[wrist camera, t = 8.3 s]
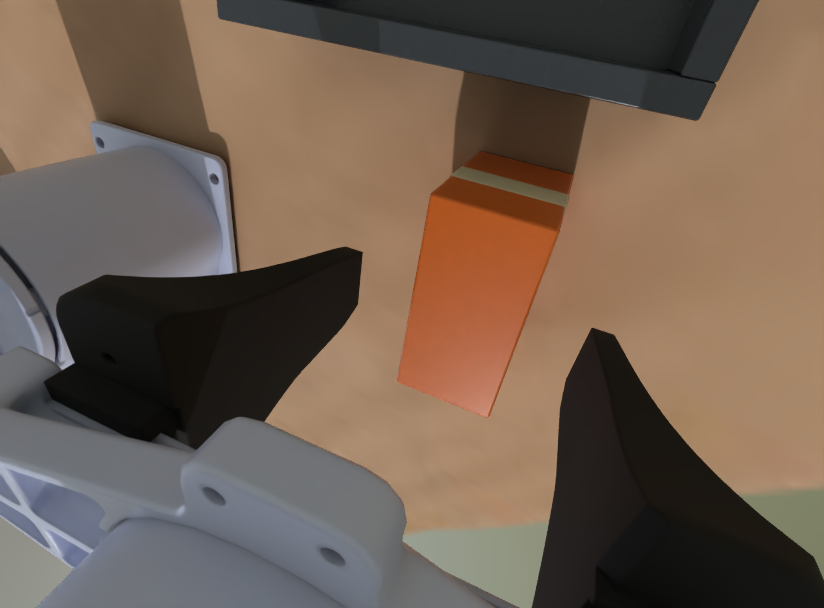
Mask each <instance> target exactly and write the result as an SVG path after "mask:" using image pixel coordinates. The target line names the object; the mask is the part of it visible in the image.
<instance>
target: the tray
mask: <svg viewBox="0 0 824 608" xmlns="http://www.w3.org/2000/svg"><path fill="white" fill-rule="evenodd" d="M758 1H759V0H217V8H218V17H219V18H220V19H222V20H227V21H231V22H236V23H241V24H245V25H250V26H255V27H259V28H264V29H269V30H273V31H278V32H283V33H288V34H292V35H297V36H302V37H306V38H311V39H316V40H320V41H325V42H330V43H334V44H339V45H344V46H348V47H353V48H358V49H362V50H367V51H372V52H376V53H381V54H386V55H390V56H395V57H400V58H405V59H409V60H414V61H419V62H423V63H428V64H433V65H437V66H442V67H447V68H451V69H456V70H461V71H465V72H470V73H475V74H479V75H484V76H489V77H493V78H498V79H503V80H507V81H512V82H517V83H521V84H526V85H531V86H536V87H540V88H545V89H550V90H554V91H559V92H564V93H568V94H573V95H578V96H582V97H587V98H592V99H596V100H601V101H606V102H610V103H615V104H620V105H624V106H629V107H634V108H638V109H643V110H648V111H652V112H657V113H662V114H667V115H671V116H676V117H681V118H685V119H690V120H695V121H697V120H699V119H700V117H701V115H702V113H703V111H704V109H705V107H706V105H707V103H708V101H709V99H710V97H711V95H712V93H713V91H714V89H715V87H716V84H715V83H714V82H717V81H718V80H719V79H720V77H721V75H722V73H723V71H724V69H725V67H726V65H727V63H728V61H729V59H730V57H731V55H732V53H733V51H734V49H735V47H736V45H737V43H738V41H739V39H740V37H741V35H742V33H743V31H744V29H745V27H746V25H747V23H748V21H749V19H750V17H751V15H752V13H753V11H754V9H755V7H756V5H757V3H758Z"/></svg>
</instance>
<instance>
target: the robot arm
mask: <svg viewBox="0 0 824 608" xmlns="http://www.w3.org/2000/svg"><path fill="white" fill-rule="evenodd" d="M90 129H91V133H92V137H93V141H94V144H95V148H96V152H97V154H94V155H90V156H85V157H81V158H76V159H72V160H67V161H63V162H58V163H54V164H49V165H45V166H40V167H36V168H31V169H27V170H22V171H18V172H13V173H9V174H4V175H0V517H1V518H3V519H4V520H6V521H7V522H9V523H10V524H11V525H13V526H14V527H16V528H17V529H18V530H20V531H21V532H23V533H25V534H26V535H27V536H28V537H30V538H31V539H33V540H34V541H35V542H37V543H38V544H39V545H41V546H42V547H43V548H45V549H46V550H48V551H49V552H50V553H52V554H53V555H55V556H56V557H57V558H59V559H60V560H62V561H63V562H64V563H66V564H67V565H69V566H70V567H71V568H72V569H74V570H73V571H72V572H71V573H70V574H69V575H68V576H67V577H66V578H65V579H64V580H63V581H62V582H61V583H60V584H59V585H58V586H57V587H56V588H55V589H54V590H53V591H52V592H51V593H50V594H49V595H48V596H47V597H46V598H45V599H44V600H43V601H42V602H41V603H40V604H39V605H38V606H37V607H36V608H519V607H517V606H514V605H513V604H510V603H508V602H506V601H504V600H502V599H500V598H498V597H496V596H494V595H492V594H490V593H488V592H486V591H484V590H482V589H480V588H478V587H476V586H474V585H471V584H470V583H467V582H465V581H463V580H461V579H459V578H457V577H455V576H453V575H451V574H449V573H447V572H445V571H443V570H442V569H440V568H439V567H438V566H436V565H435V564H434V563H432V562H431V561H429V560H428V559H427V558H425V557H424V556H422V555H421V554H419V553H418V552H417V551H415V550H414V549H413V548H411V547H410V546H408V545H407V544H406V543H404V542H403V541H402V539H403V534H404V530H405V526H406V523H407V521H406V515H405V509H404V504H403V502H402V500H401V498H400V497H399V496H398V495H397V494H396V492H395V491H394V490H393V489H392V487H391V486H390V485H389V484H388V482H387V481H385V480H384V479H382V478H381V477H379V476H377V475H376V474H374V473H373V472H371V471H370V470H368V469H367V468H365V467H363V466H361V465H358V464H356V463H354V462H352V461H349V460H347V459H345V458H343V457H341V456H338V455H336V454H334V453H332V452H330V451H327V450H325V449H323V448H321V447H318V446H316V445H314V444H312V443H310V442H307V441H305V440H303V439H301V438H299V437H296V436H294V435H292V434H290V433H287V432H285V431H283V430H281V429H279V428H276V427H274V426H272V425H270V424H267V423H265V422H264V421H265V420H266V418H267V417H268V416H269V414H270V413H271V411H272V410H273V408H274V407H275V405H276V404H277V403H278V401H279V400H280V399H281V397H282V396H283V394H284V393H285V392H286V390H287V389H288V388H289V386H290V385H291V384H292V382H293V381H294V380H295V379H296V377H297V376H298V375H299V374H300V373H301V371H302V370H303V369H304V368H305V367H306V366H307V365H308V364H309V363H310V362H311V361H312V360H313V359H314V357H315V356H316V355H317V354H318V353H319V352H320V351H321V350H322V349H323V348H324V347H325V346H326V345H327V344H328V342H329V341H330V340H331V339H332V338H333V337H334V336H335V335H336V334H337V333H338V332H339V330H340V329H341V328H342V327H343V326H344V324H345V323H346V321H347V320H348V319H349V317H350V316H351V314H352V313H353V311H354V310H355V308H356V306H357V305H358V297H359V286H360V276H361V265H362V254H363V252H360V251H357V250H354V249H351V248H348V247H341V248H336V249H333V250H329V251H325V252H322V253H318V254H315V255H311V256H308V257H304V258H301V259H297V260H294V261H290V262H286V263H282V264H277V265H273V266H269V267H265V268H260V269H255V270H250V271H243V272H237V263H236V253H235V243H234V233H233V223H232V213H231V203H230V193H229V183H228V173H227V167H226V164H225V162H224V160H223V159H222V158H221V157H219V156H217V155H214V154H210V153H207V152H204V151H200V150H197V149H194V148H190V147H187V146H184V145H180V144H177V143H174V142H171V141H167V140H164V139H161V138H157V137H154V136H151V135H147V134H144V133H141V132H137V131H134V130H131V129H127V128H124V127H121V126H118V125H114V124H111V123H108V122H104V121H93V122H92V123H91V126H90ZM216 176H217V177H218V180H219V181H218V180H217V178H216ZM532 608H824V580H823V577H822V575H821V572H820V570H819V568H818V565H817V563H816V561H815V559H814V557H813V556H811V555H810V554H809V553H808V552H806V551H805V550H804V549H803V548H802V547H800V546H799V545H798V544H796V543H795V542H794V541H793V540H791V539H790V538H788V536H786V535H785V534H784V533H783V532H781V531H780V530H779V529H777V528H776V527H775V526H774V525H772V524H771V523H770V522H769V521H767V520H766V519H765V518H764V517H762V516H761V515H760V514H759V513H758V512H757V511H755V510H754V509H753V508H752V507H751V506H750V505H749V504H748V503H746V502H745V501H744V500H743V499H742V498H741V497H740V496H739V495H737V494H736V493H735V492H734V491H733V490H732V489H731V488H730V487H729V486H728V485H727V484H726V483H724V482H723V481H722V480H721V479H720V478H719V477H718V476H717V475H716V474H715V473H714V472H713V471H712V470H711V469H710V468H709V467H708V466H707V465H706V464H705V463H704V462H703V461H702V459H701V458H700V457H699V456H698V455H697V454H696V453H695V452H694V451H693V450H692V449H691V448H690V447H689V446H688V444H687V443H686V442H685V441H684V440H683V438H682V437H681V436H680V435H679V434H678V432H677V431H676V430H675V429H674V428H673V426H672V425H671V424H670V423H669V421H668V420H667V419H666V418H665V416H664V415H663V414H662V412H661V411H660V409H659V408H658V407H657V405H656V404H655V402H654V401H653V399H652V398H651V397H650V395H649V394H648V392H647V390H646V389H645V387H644V386H643V384H642V383H641V381H640V379H639V378H638V376H637V374H636V373H635V371H634V369H633V368H632V366H631V364H630V362H629V361H628V359H627V357H626V355H625V353H624V352H623V350H622V348H621V346H620V344H619V342H618V341H617V339H616V337H615V336H614V335H613V334H610V333H607V332H604V331H601V330H598V329H595V328H591V330H590V332H589V334H588V336H587V338H586V340H585V342H584V344H583V346H582V348H581V350H580V352H579V354H578V356H577V358H576V360H575V362H574V364H573V366H572V369H571V371H570V373H569V375H568V377H567V379H566V382H565V387H564V392H563V396H562V401H561V407H560V418H559V435H558V453H557V471H556V483H555V491H554V497H553V503H552V509H551V514H550V520H549V526H548V531H547V536H546V542H545V547H544V552H543V557H542V562H541V567H540V572H539V577H538V581H537V586H536V591H535V596H534V601H533V605H532Z"/></svg>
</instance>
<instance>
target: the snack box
mask: <svg viewBox="0 0 824 608" xmlns="http://www.w3.org/2000/svg"><path fill="white" fill-rule="evenodd" d="M572 181H573V175H572V174H568V173H564V172H560V171H556V170H552V169H548V168H544V167H540V166H536V165H532V164H528V163H525V162H521V161H517V160H513V159H509V158H505V157H501V156H497V155H493V154H489V153H485V152H482V151H481V152H479V153H478V154H476V155H475V156H474V157H473V158H472V159H471V160H470V161H468V162H467V163H466V164H465V165H464V166H461V167H460V168H458V169H457V170H456V171H455V172H454V173H453V174H451V175H450V178H449V179H448V180H446V181H445V182H444V183H443V184H442V185H441V186H439V187H438V188H437V189H436V190H435V191H434V192H432V193H431V195H430V200H429V206H428V211H427V217H426V222H425V228H424V234H423V239H422V245H421V250H420V256H419V261H418V267H417V273H416V278H415V284H414V289H413V295H412V300H411V306H410V312H409V317H408V323H407V328H406V334H405V339H404V345H403V351H402V356H401V362H400V367H399V373H398V378H397V381H398V382H399V383H402V384H404V385H407V386H409V387H412V388H414V389H417V390H419V391H422V392H424V393H427V394H429V395H432V396H434V397H437V398H439V399H442V400H444V401H447V402H449V403H452V404H454V405H457V406H459V407H462V408H464V409H467V410H469V411H472V412H474V413H477V414H479V415H482V416H484V417H489V416H490V413H491V411H492V408H493V405H494V403H495V400H496V397H497V395H498V392H499V390H500V387H501V384H502V382H503V379H504V376H505V374H506V371H507V368H508V366H509V363H510V361H511V358H512V355H513V353H514V350H515V347H516V345H517V342H518V339H519V337H520V334H521V331H522V329H523V326H524V324H525V321H526V318H527V316H528V313H529V310H530V308H531V305H532V302H533V300H534V297H535V295H536V292H537V289H538V287H539V284H540V281H541V279H542V276H543V273H544V271H545V268H546V266H547V263H548V260H549V258H550V255H551V252H552V250H553V247H554V244H555V242H556V239H557V237H558V234H559V231H560V227H561V223H562V219H563V216H564V213H565V210H566V208H567V204H568V200H569V192H570V189H571V185H572Z"/></svg>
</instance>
